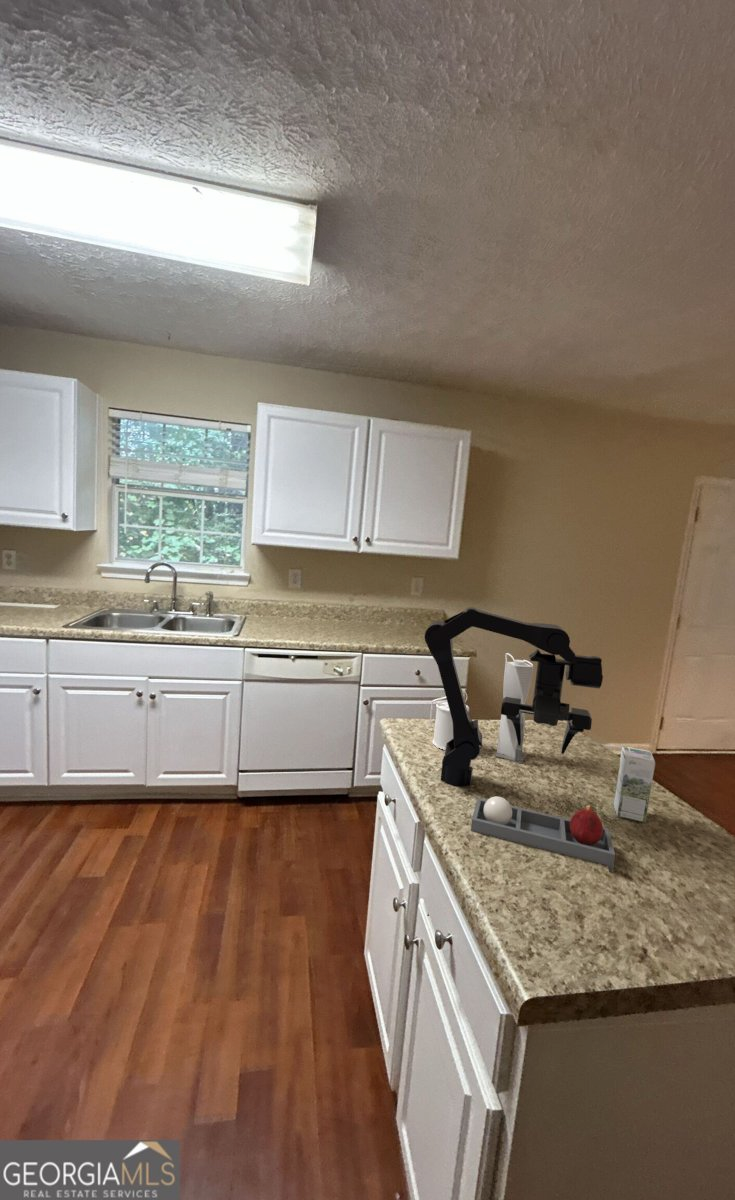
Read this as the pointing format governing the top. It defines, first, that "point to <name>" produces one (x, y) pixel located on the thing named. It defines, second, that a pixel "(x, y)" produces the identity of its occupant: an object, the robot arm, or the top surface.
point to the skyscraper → (518, 687)
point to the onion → (586, 826)
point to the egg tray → (544, 834)
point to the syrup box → (634, 784)
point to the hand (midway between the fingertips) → (540, 749)
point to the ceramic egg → (498, 810)
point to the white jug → (443, 723)
